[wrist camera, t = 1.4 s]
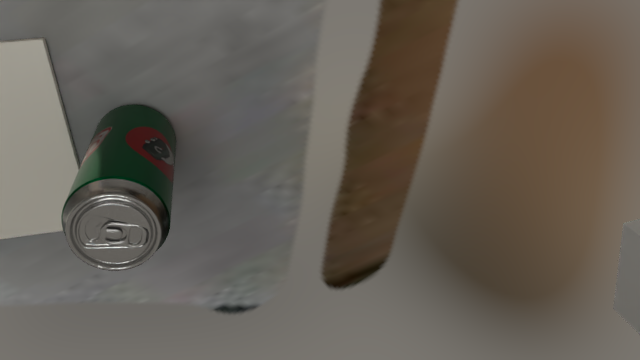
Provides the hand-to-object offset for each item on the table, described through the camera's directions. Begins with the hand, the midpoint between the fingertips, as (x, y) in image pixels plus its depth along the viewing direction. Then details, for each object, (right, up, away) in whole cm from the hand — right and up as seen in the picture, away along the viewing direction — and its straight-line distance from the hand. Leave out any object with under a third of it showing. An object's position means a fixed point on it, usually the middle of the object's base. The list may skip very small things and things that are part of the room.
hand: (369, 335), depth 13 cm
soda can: (-13, +7, +23) cm, 28 cm away
